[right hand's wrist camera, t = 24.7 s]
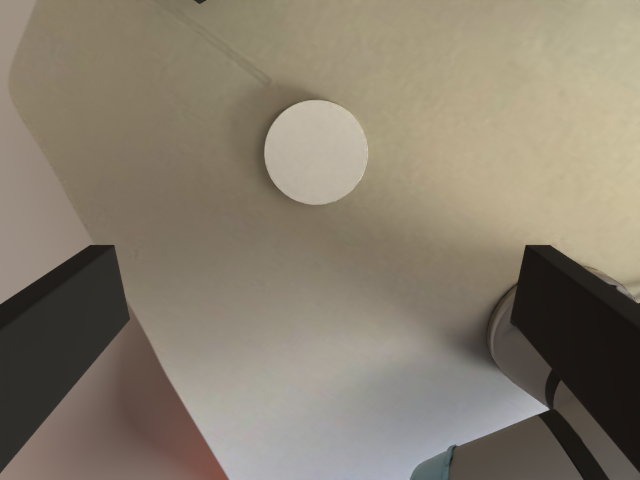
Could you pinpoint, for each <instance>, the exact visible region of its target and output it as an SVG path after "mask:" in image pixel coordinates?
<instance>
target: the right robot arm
mask: <svg viewBox="0 0 640 480" xmlns="http://www.w3.org/2000/svg"><path fill="white" fill-rule="evenodd" d="M129 320H130V317H129V313H128V308H127V303H126V298H125V294H124V289H123V284H122V280H121V275H120V270H119V265H118V261H117V256H116V251H115V246H114V245H90V246H88V247H87V248H85V249H84V250H82V251H80V252H79V253H78V254H76V255H74V256H73V257H71V258H70V259H68V260H67V261H65V262H64V263H62V264H61V265H59V266H58V267H56V268H55V269H53V270H52V271H50V272H49V273H47V274H46V275H44V276H43V277H41V278H40V279H38V280H37V281H35V282H34V283H32V284H31V285H29V286H28V287H26V288H25V289H23V290H21V291H20V292H18V293H17V294H15V295H14V296H12V297H11V298H9V299H8V300H6V301H5V302H3V303H2V304H0V473H1V472H2V471H3V469H4V468H5V467H6V466H7V465H8V463H9V462H10V461H11V460H12V459H13V457H14V456H15V455H16V454H17V453H18V451H19V450H20V449H21V448H22V447H23V445H24V444H25V443H26V442H27V441H28V440H29V438H30V437H31V436H32V435H33V434H34V432H35V431H36V430H37V429H38V428H39V427H40V425H41V424H42V423H43V422H44V421H45V419H46V418H47V417H48V416H49V415H50V414H51V412H52V411H53V410H54V409H55V408H56V406H57V405H58V404H59V403H60V402H61V400H62V399H63V398H64V397H65V396H66V394H67V393H68V392H69V391H70V390H71V389H72V387H73V386H74V385H75V384H76V383H77V381H78V380H79V379H80V378H81V377H82V375H83V374H84V373H85V372H86V371H87V369H88V368H89V367H90V366H91V365H92V363H93V362H94V361H95V360H96V359H97V358H98V356H99V355H100V354H101V353H102V352H103V351H104V349H105V348H106V347H107V346H108V345H109V343H110V342H111V341H112V340H113V339H114V337H115V336H116V335H117V334H118V333H119V332H120V330H121V329H122V328H123V327H124V326H125V324H126V323H127V322H128V321H129ZM487 344H488V348H489V351H490V354H491V356H492V358H493V359H494V361H495V362H496V364H497V366H498V367H499V368H500V370H501V371H502V372H503V374H504V375H505V376H507V377H508V378H509V379H510V380H511V381H512V382H513V383H515V384H516V385H517V386H519V387H520V388H522V389H523V390H524V391H526V392H527V393H528V394H530V395H531V396H533V397H534V398H535V399H537V400H538V401H540V402H541V403H542V404H544V405H545V406H547V407H548V408H549V409H550V410H548V411H546V412H543V413H541V414H538V415H535V416H532V417H530V418H528V419H525V420H523V421H520V422H518V423H515V424H513V425H511V426H508V427H506V428H503V429H501V430H499V431H496V432H494V433H491V434H489V435H486V436H484V437H481V438H478V439H476V440H473V441H471V442H468V443H466V444H463V445H460V446H457V445H452V446H450V447H449V448H448V450H447V451H445V452H443V453H441V454H439V455H437V456H435V457H433V458H431V459H428V460H426V461H424V462H422V463H421V464H419V465H418V466H417V467H416V468H415V470H414V471H413V473H412V475H411V478H410V480H640V303H639V304H638V303H637V302H636V301H635V299H634V298H633V296H632V295H631V294H630V293H629V292H628V291H627V290H626V289H625V288H624V287H623V286H622V285H621V284H620V283H618V282H617V281H615V280H614V279H612V278H611V277H609V276H607V275H606V274H604V273H602V272H600V271H598V270H595V269H592V268H588V267H582V266H581V265H579V264H578V263H576V262H575V261H573V260H572V259H570V258H569V257H567V256H566V255H564V254H563V253H561V252H560V251H558V250H556V249H555V248H553V247H552V246H550V245H526V246H525V251H524V256H523V261H522V265H521V270H520V275H519V279H518V284H517V285H516V286H515V287H514V288H512V289H511V290H510V291H509V292H508V293H507V294H506V295H505V296H504V297H503V298H502V300H501V301H500V302H499V304H498V305H497V307H496V308H495V310H494V312H493V314H492V316H491V319H490V321H489V325H488V330H487Z"/></svg>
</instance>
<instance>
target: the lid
mask: <svg viewBox="0 0 640 480" xmlns="http://www.w3.org/2000/svg"><path fill="white" fill-rule="evenodd" d="M367 157H368V147H367V141H366V137H365V134H364V132H363V130H362V128H361V126H360V124H359V123H358V121H357V120H356V119H355V118H354V116H353V115H352V114H351V113H349V112H348V111H347V110H346V109H344V108H343V107H341V106H339V105H337V104H335V103H333V102H330V101H325V100H306V101H302V102H299V103H297V104H294V105H293V106H291V107H289V108H287V109H286V110H285V111H284V112H282V113H281V114H280V115H279V116H278V117H277V118H276V120H275V121H274V122H273V124H272V126H271V127H270V129H269V131H268V134H267V137H266V141H265V148H264V158H265V164H266V167H267V171H268V173H269V175H270V177H271V179H272V181H273V182H274V184H275V185H276V186H277V187H278V188H279V189H280V190H281V191H282V192H283V193H284V194H285V195H287V196H288V197H290V198H291V199H293V200H296V201H298V202H301V203H304V204H310V205H322V204H328V203H332V202H334V201H337V200H339V199H341V198H343V197H344V196H346V195H347V194H348V193H349V192H351V191H352V190H353V189H354V188H355V186H356V185H357V184H358V182H359V181H360V179H361V178H362V175H363V173H364V171H365V168H366V164H367Z"/></svg>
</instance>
